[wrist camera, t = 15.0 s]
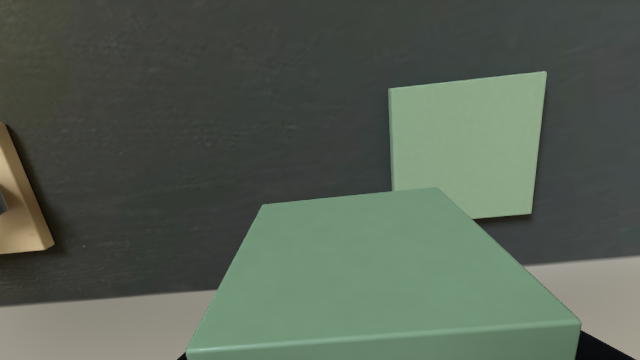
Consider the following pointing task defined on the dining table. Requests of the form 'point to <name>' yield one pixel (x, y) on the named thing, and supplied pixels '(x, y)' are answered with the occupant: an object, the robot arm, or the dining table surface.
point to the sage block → (379, 288)
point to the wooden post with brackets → (3, 204)
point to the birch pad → (19, 205)
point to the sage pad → (470, 141)
